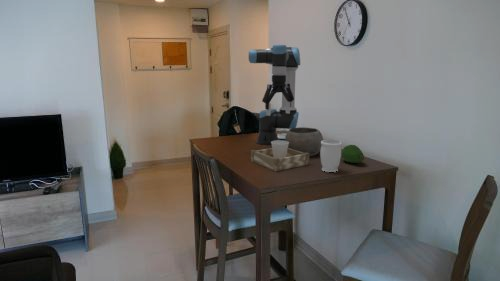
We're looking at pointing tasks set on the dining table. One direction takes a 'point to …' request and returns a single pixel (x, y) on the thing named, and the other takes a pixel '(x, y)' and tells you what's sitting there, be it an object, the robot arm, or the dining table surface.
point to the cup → (279, 148)
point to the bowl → (305, 140)
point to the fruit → (352, 154)
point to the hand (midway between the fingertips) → (278, 114)
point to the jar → (330, 155)
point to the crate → (279, 159)
